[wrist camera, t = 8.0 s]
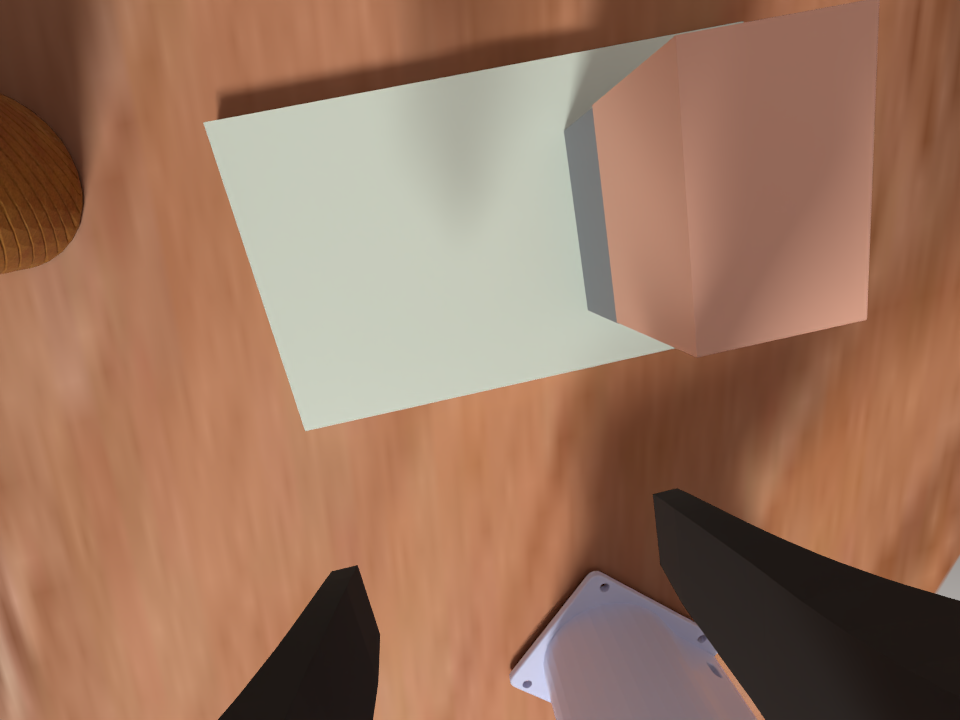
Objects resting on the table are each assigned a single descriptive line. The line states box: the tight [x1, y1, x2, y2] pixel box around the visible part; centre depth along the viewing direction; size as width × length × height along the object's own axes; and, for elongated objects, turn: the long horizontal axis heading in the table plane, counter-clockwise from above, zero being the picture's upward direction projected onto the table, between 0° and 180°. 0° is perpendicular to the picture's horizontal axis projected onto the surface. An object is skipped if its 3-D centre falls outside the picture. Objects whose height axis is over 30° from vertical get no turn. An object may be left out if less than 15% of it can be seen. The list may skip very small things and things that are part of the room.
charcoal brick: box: [564, 108, 619, 324], centre depth 17 cm, size 4×7×3 cm, turn 11°
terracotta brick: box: [592, 0, 879, 357], centre depth 13 cm, size 4×7×5 cm, turn 10°
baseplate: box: [204, 21, 743, 431], centre depth 19 cm, size 20×12×1 cm, turn 101°
